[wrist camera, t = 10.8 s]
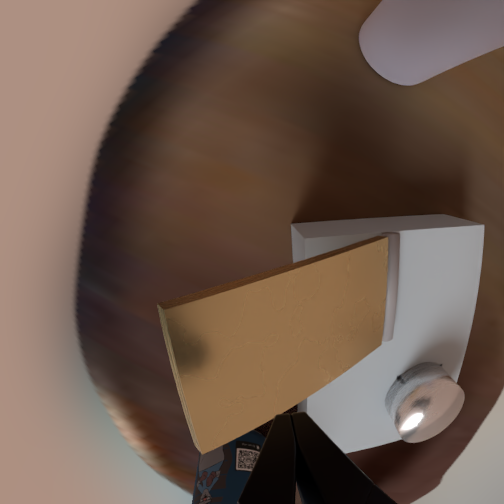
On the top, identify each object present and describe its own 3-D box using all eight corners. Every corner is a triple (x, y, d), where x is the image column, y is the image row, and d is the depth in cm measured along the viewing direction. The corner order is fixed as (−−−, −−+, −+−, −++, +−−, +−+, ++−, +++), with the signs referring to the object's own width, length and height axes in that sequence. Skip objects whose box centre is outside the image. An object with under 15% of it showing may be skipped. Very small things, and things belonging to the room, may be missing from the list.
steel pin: (412, 374, 23) (452, 429, 15) (361, 385, 23) (393, 450, 15) (421, 325, 22) (472, 376, 14) (366, 336, 22) (408, 398, 14)
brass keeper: (372, 341, 16) (381, 344, 15) (194, 445, 10) (202, 454, 9) (378, 235, 14) (388, 237, 14) (157, 303, 8) (164, 310, 8)
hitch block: (418, 393, 24) (445, 433, 18) (297, 418, 24) (307, 469, 18) (443, 214, 20) (494, 227, 14) (290, 223, 20) (308, 242, 14)
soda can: (260, 469, 26) (264, 565, 14) (195, 456, 25) (179, 555, 14) (285, 429, 24) (300, 541, 13) (211, 414, 24) (194, 531, 12)
